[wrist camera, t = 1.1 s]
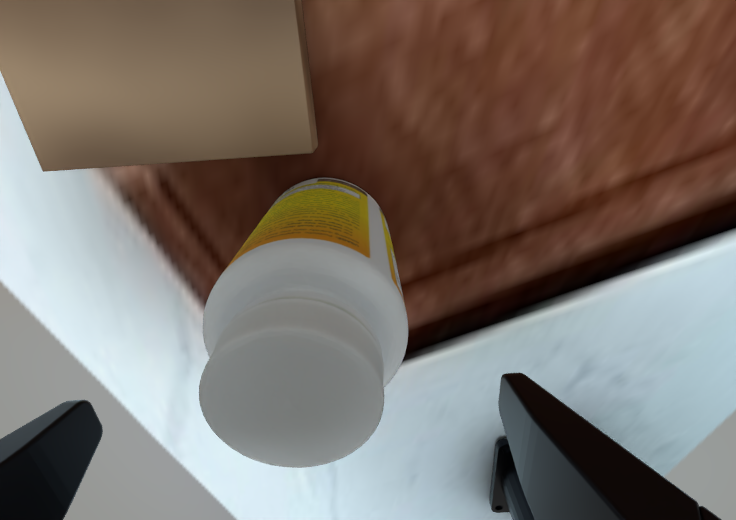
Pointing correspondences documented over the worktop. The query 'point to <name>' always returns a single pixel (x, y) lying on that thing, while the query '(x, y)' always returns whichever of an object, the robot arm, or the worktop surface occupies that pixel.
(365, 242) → the supplement bottle
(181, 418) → the worktop surface
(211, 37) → the beige square slab
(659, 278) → the worktop surface
